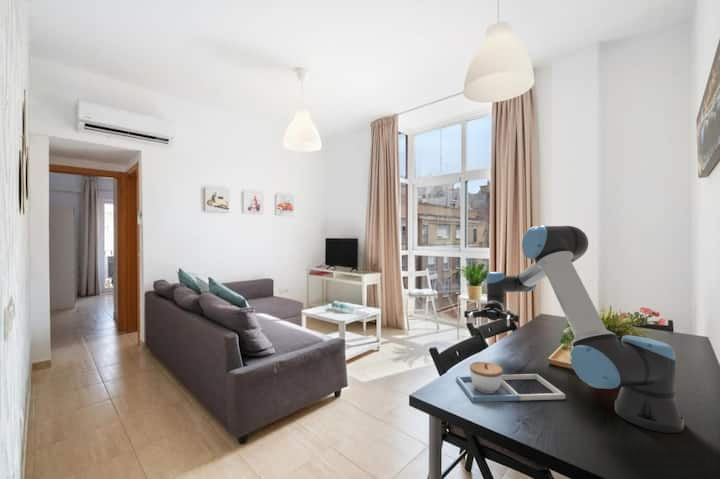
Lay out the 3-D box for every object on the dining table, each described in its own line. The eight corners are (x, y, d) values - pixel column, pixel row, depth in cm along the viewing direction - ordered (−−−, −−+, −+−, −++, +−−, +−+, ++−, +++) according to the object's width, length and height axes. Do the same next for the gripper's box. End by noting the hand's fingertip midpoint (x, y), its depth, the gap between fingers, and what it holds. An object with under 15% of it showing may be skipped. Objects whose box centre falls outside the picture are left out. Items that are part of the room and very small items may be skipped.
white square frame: (565, 399, 106) (565, 394, 106) (517, 400, 105) (517, 395, 105) (536, 377, 122) (536, 373, 122) (495, 378, 121) (495, 374, 121)
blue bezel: (519, 400, 105) (519, 395, 105) (472, 401, 105) (472, 397, 105) (496, 378, 121) (496, 374, 121) (456, 379, 121) (456, 375, 121)
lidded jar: (500, 384, 117) (499, 358, 117) (505, 398, 107) (504, 370, 107) (469, 380, 120) (468, 355, 120) (470, 394, 110) (470, 367, 109)
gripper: (526, 321, 135) (525, 334, 116) (464, 315, 146) (454, 327, 128) (525, 303, 135) (525, 313, 116) (464, 299, 147) (454, 308, 128)
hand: (488, 320), depth 122 cm, fingers open, 13 cm apart
